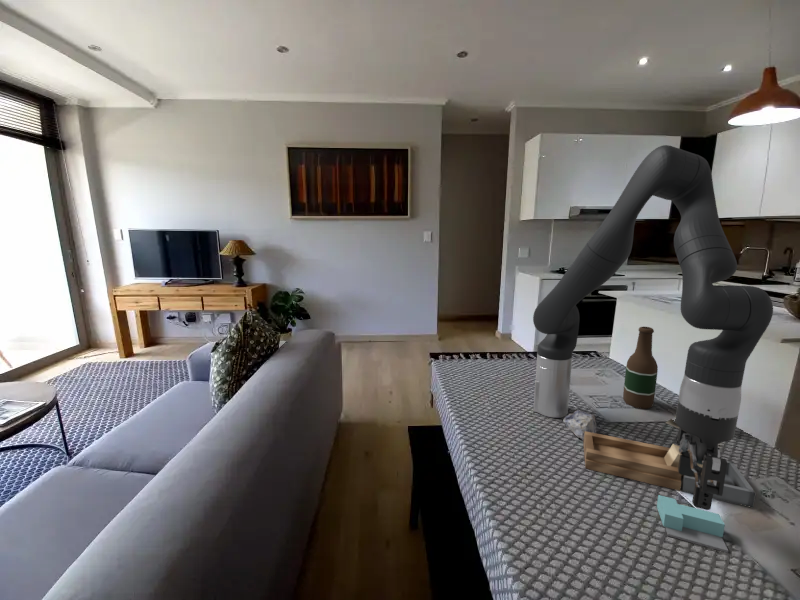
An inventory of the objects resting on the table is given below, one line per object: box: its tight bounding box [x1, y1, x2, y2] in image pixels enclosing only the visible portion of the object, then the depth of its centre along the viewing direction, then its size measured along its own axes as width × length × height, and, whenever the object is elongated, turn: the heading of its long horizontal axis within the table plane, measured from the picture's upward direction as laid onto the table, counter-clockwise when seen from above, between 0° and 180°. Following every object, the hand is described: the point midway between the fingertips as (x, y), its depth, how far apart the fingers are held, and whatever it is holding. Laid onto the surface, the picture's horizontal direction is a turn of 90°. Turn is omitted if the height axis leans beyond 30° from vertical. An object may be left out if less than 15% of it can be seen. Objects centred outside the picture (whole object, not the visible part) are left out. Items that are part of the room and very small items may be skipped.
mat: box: [664, 527, 729, 554], centre depth 62 cm, size 8×8×1 cm
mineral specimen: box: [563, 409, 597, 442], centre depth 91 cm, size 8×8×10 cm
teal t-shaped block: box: [656, 494, 726, 538], centre depth 62 cm, size 2×5×8 cm
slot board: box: [582, 431, 681, 491], centre depth 78 cm, size 17×10×4 cm, turn 65°
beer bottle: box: [622, 326, 659, 410], centre depth 104 cm, size 8×8×24 cm
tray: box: [680, 459, 756, 508], centre depth 72 cm, size 11×10×3 cm
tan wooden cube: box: [664, 443, 701, 468], centre depth 74 cm, size 4×4×4 cm
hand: (692, 489), depth 61 cm, fingers open, 8 cm apart
